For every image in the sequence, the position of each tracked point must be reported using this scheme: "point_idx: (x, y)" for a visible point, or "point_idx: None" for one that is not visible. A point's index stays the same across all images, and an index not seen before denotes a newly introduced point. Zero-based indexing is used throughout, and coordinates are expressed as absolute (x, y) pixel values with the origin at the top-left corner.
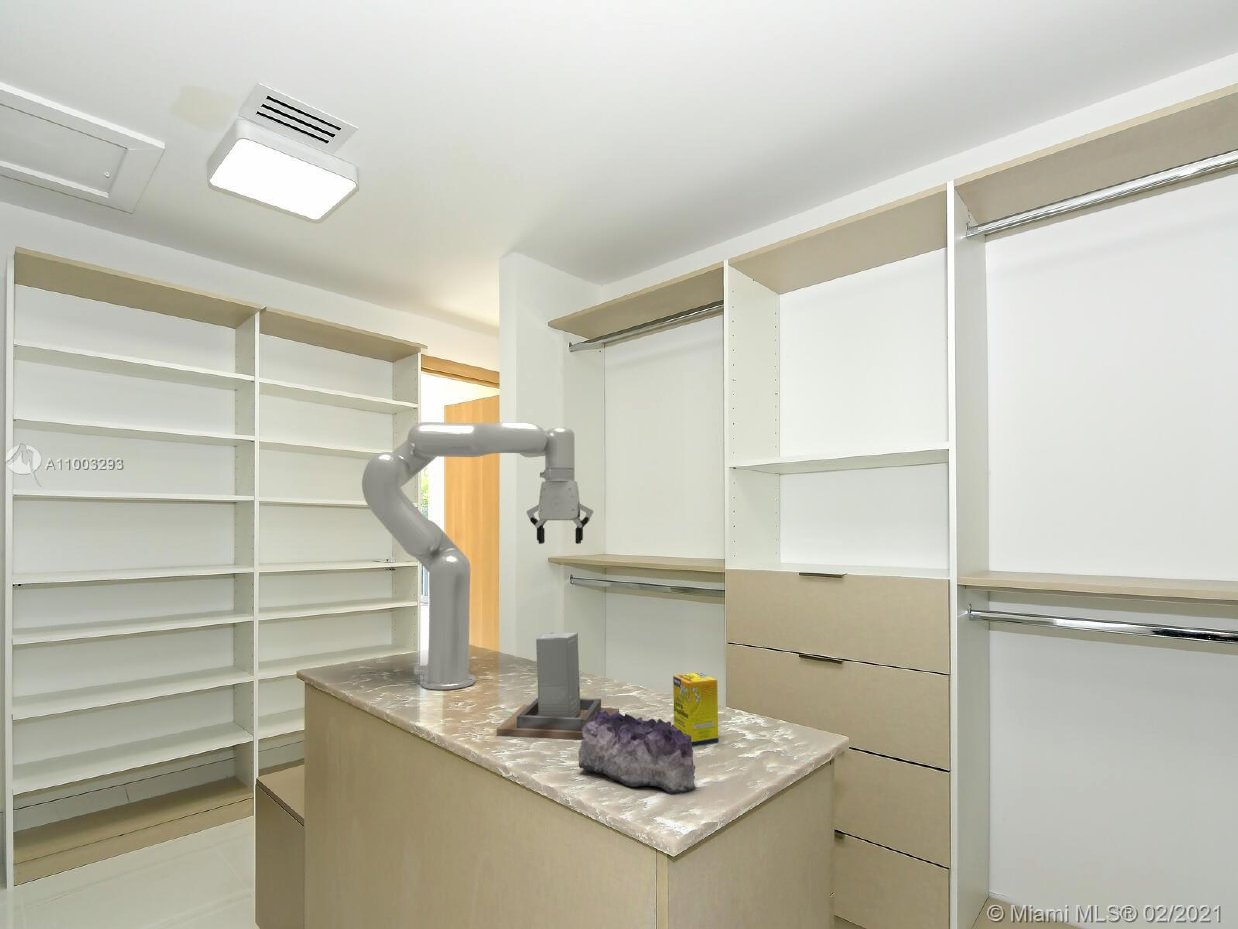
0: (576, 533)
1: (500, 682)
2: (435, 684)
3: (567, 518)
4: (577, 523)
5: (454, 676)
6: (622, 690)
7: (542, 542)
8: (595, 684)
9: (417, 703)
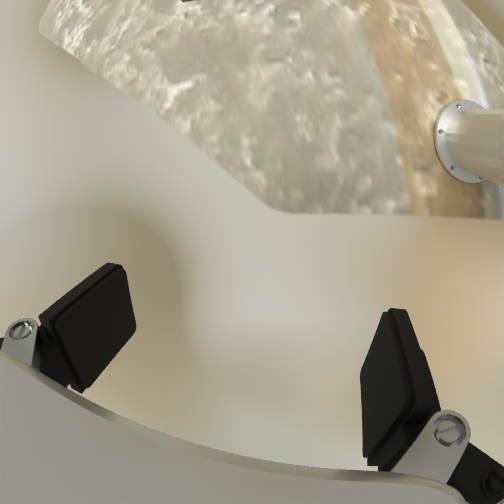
0: (76, 296)
1: (396, 144)
2: (477, 107)
3: (13, 368)
4: (21, 346)
5: (461, 112)
6: (188, 104)
7: (375, 338)
8: (233, 134)
9: (465, 41)
